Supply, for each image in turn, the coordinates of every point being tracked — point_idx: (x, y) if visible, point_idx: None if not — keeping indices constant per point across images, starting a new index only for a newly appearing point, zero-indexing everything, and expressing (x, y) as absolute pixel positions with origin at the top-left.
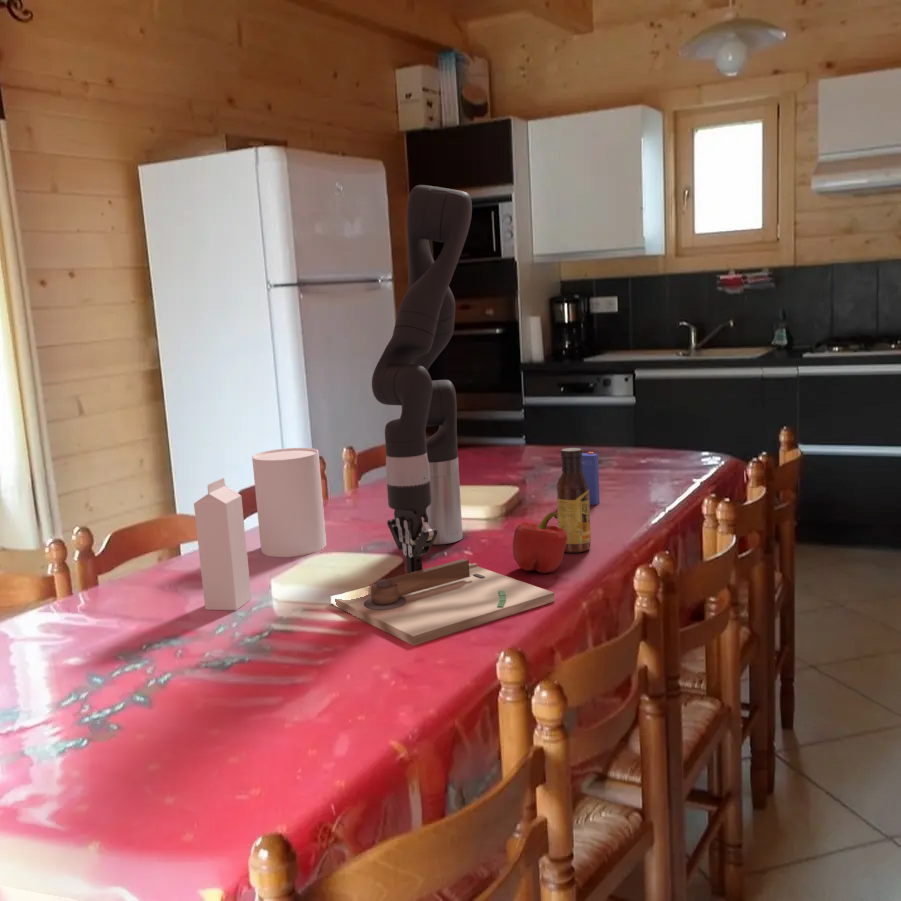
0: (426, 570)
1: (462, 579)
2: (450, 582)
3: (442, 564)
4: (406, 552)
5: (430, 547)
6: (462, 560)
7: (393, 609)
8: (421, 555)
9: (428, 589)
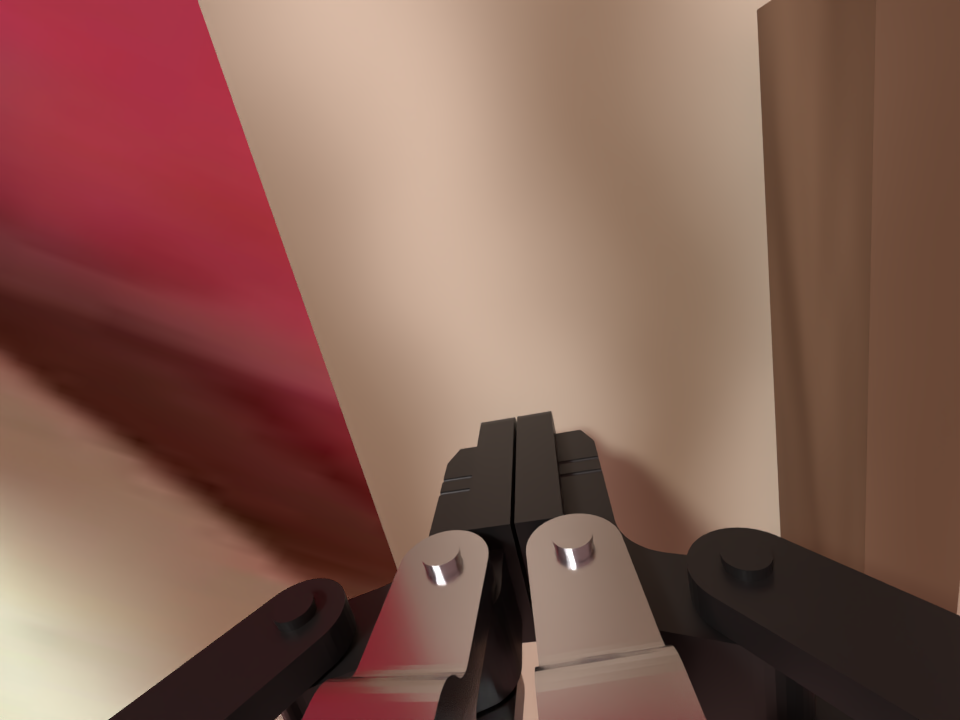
0: (932, 564)
1: (738, 59)
2: (740, 205)
3: (877, 341)
4: (519, 696)
5: (928, 611)
6: (952, 5)
7: None
8: (638, 550)
9: (768, 424)
